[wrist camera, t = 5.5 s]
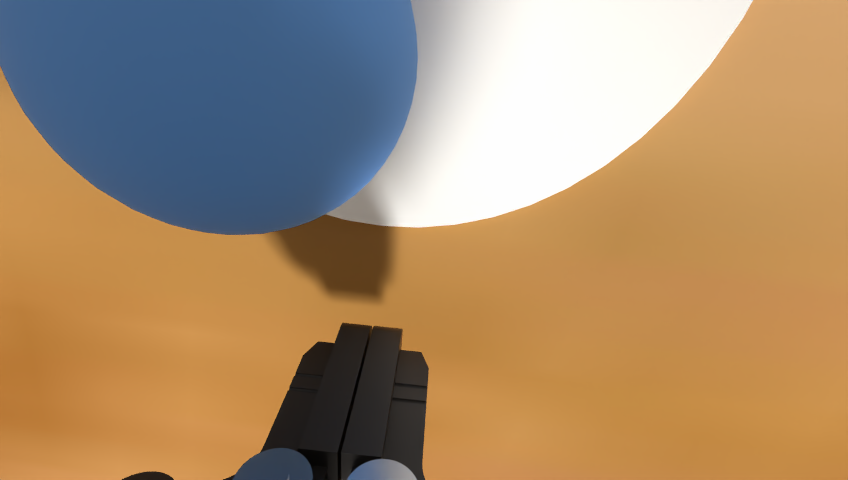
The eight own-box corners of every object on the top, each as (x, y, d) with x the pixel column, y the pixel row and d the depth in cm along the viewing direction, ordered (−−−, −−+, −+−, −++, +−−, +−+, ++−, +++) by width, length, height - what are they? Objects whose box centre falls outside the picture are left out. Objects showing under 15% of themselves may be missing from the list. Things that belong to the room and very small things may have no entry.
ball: (72, 367, 4) (322, 277, 10) (466, -106, 3) (506, 86, 9) (-221, -1, 5) (167, 104, 10) (15, -526, 4) (318, -98, 9)
